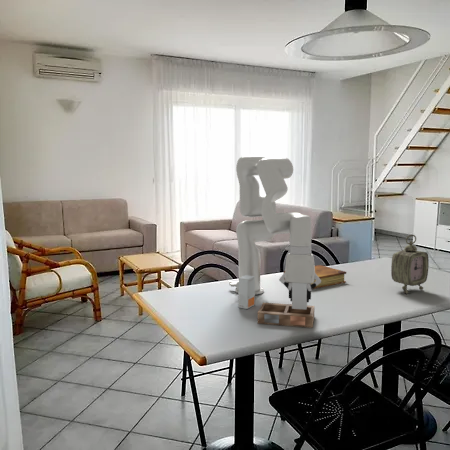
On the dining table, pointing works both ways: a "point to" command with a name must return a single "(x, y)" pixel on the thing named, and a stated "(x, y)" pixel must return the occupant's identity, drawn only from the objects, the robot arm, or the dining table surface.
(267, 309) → the socket block
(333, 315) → the dining table surface
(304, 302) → the plug
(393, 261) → the tabletop clock
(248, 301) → the skincare box
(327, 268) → the diary
